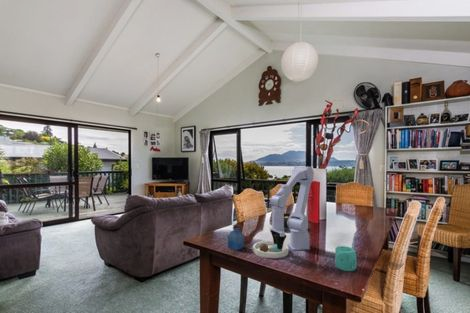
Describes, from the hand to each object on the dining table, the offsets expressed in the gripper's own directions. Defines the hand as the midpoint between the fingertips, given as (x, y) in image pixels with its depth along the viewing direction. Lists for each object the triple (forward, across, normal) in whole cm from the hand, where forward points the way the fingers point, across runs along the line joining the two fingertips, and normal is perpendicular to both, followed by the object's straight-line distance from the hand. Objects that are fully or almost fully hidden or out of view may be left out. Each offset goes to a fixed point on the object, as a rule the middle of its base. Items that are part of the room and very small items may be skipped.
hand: (278, 246), depth 123 cm
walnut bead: (+3, -1, -6) cm, 7 cm away
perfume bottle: (+4, -13, -20) cm, 24 cm away
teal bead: (+3, 0, 0) cm, 3 cm away
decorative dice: (+4, +17, +25) cm, 31 cm away
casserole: (+4, -47, +21) cm, 51 cm away
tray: (+4, -5, -3) cm, 7 cm away
